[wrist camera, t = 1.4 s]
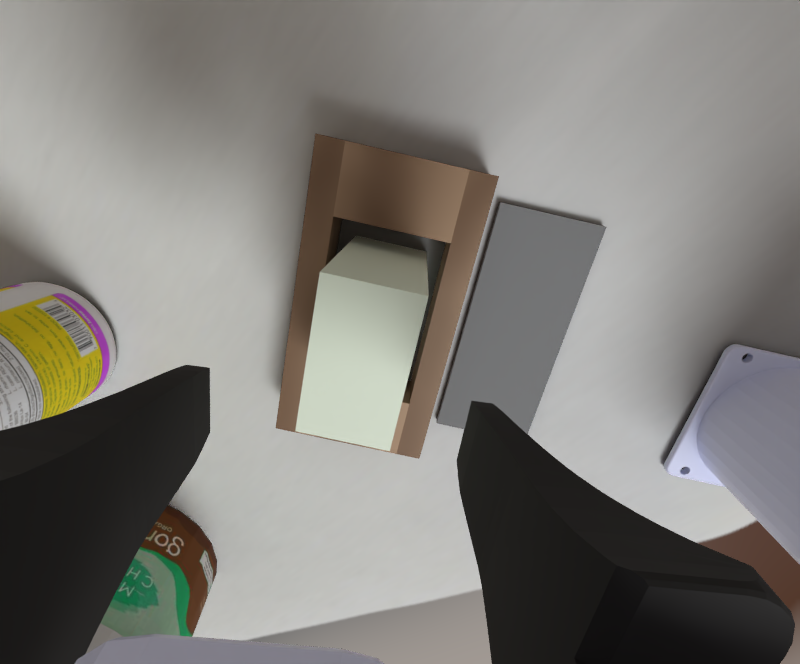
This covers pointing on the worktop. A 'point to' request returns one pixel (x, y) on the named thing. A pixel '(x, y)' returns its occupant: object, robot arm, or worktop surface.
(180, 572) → the food container
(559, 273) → the mat
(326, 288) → the sage block
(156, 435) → the robot arm
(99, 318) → the supplement bottle
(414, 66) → the worktop surface
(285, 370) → the pocket block
